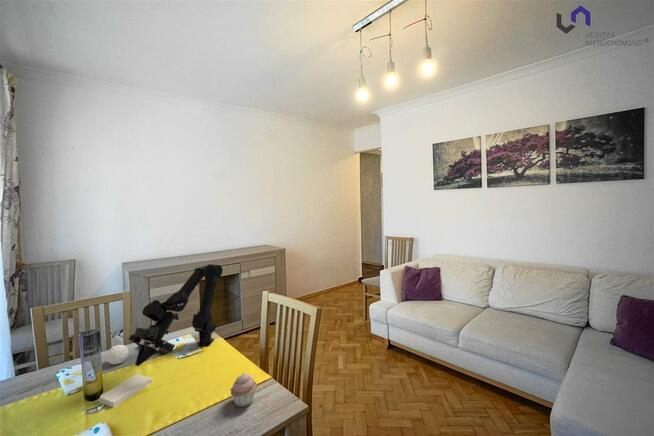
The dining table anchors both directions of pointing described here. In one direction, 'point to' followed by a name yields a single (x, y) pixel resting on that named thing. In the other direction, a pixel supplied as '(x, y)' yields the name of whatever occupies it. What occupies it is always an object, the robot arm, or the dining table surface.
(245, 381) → the cupcake
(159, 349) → the sunglasses case
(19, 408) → the dining table surface
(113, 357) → the geometric ball
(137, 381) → the wooden block
